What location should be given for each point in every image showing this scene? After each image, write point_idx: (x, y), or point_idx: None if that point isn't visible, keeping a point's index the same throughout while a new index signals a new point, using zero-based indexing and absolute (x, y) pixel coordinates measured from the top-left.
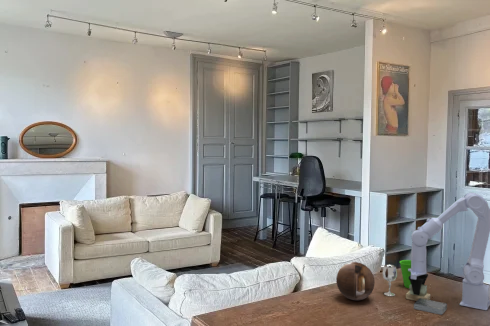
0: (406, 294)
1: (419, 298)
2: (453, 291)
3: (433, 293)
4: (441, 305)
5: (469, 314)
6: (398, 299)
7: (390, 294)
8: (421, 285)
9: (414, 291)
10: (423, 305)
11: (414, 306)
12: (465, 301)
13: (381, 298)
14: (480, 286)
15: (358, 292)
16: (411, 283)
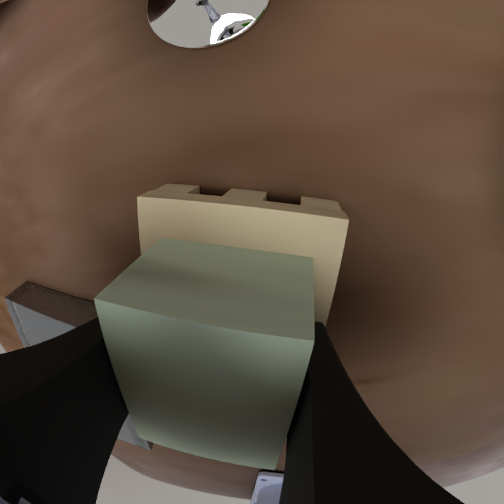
0: (142, 202)
1: None
2: (499, 425)
3: (459, 372)
4: None
5: (166, 467)
6: (100, 129)
7: (170, 11)
8: (230, 437)
9: None
10: (25, 345)
11: (17, 292)
12: (267, 497)
13: (59, 15)
14: None
15: None
16: (20, 356)
